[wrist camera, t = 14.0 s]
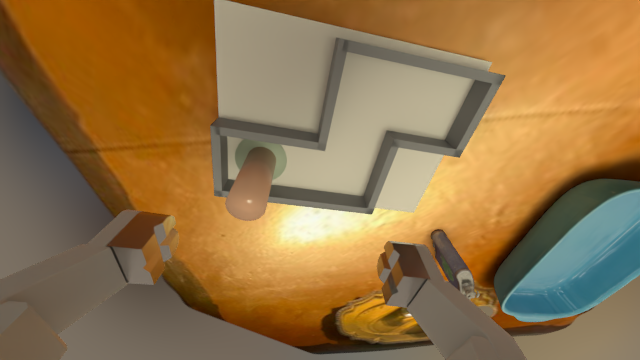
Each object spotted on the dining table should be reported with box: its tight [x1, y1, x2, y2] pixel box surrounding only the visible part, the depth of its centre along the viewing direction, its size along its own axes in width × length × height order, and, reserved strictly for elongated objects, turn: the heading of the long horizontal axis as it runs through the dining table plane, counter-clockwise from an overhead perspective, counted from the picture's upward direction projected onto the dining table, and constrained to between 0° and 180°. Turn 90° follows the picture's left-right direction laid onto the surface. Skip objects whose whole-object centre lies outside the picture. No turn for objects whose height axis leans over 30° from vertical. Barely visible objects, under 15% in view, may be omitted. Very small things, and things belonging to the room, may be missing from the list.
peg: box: [225, 147, 276, 221], centre depth 28 cm, size 4×4×10 cm
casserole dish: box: [494, 179, 640, 322], centre depth 44 cm, size 37×22×7 cm, turn 171°
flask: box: [431, 230, 480, 299], centre depth 41 cm, size 9×3×11 cm, turn 22°
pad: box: [235, 139, 287, 180], centre depth 32 cm, size 7×7×1 cm
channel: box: [210, 0, 505, 214], centre depth 30 cm, size 31×23×4 cm
